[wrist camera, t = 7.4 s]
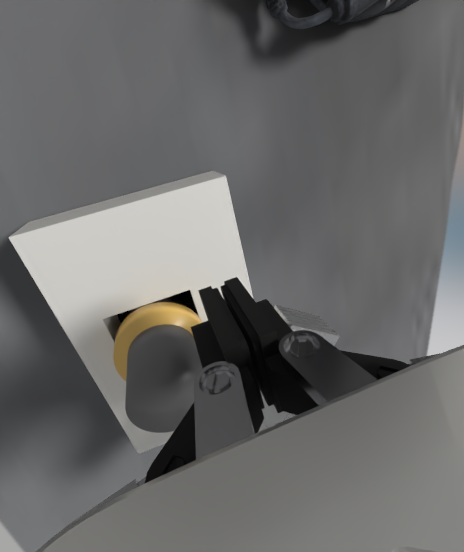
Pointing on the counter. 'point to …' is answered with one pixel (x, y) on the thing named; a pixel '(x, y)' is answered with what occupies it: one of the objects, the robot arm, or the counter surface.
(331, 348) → the robot arm
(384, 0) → the cable
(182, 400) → the plug
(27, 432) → the counter surface
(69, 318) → the socket block
